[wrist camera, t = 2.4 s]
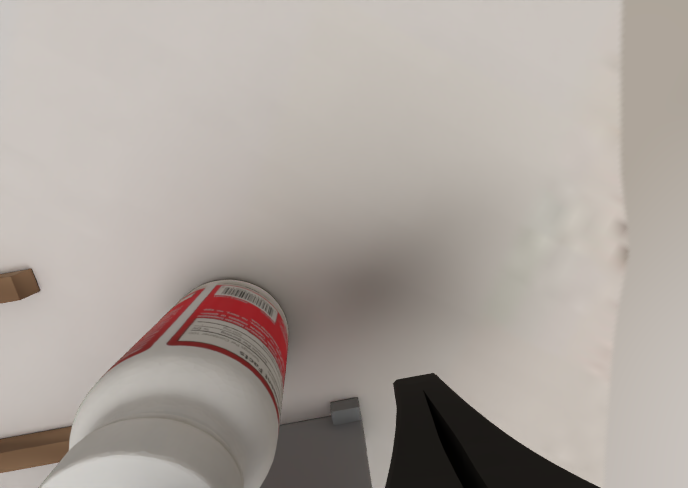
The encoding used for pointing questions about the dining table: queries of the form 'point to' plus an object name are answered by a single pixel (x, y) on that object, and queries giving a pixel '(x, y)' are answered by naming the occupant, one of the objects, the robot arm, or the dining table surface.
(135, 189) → the dining table surface
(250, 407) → the pill bottle
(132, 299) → the dining table surface
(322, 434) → the slate screen
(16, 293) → the walnut bracket
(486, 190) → the dining table surface
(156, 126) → the dining table surface
